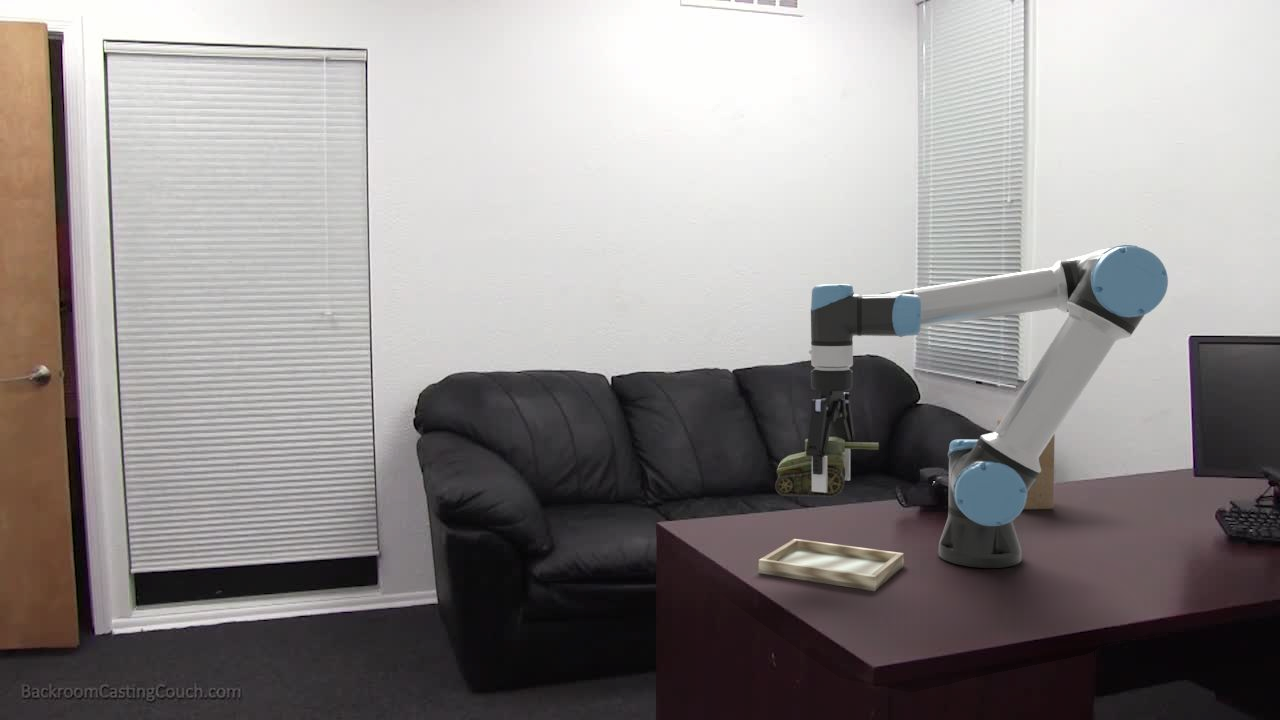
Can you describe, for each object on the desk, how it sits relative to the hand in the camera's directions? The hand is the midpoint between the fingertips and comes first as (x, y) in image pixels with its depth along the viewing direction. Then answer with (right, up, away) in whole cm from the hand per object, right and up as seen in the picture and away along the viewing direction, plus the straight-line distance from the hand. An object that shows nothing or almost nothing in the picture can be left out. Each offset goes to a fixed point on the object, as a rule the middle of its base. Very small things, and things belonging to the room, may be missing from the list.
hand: (831, 485), depth 183 cm
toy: (-1, -1, 0) cm, 2 cm away
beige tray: (0, -16, +1) cm, 16 cm away
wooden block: (+55, -11, +50) cm, 76 cm away
